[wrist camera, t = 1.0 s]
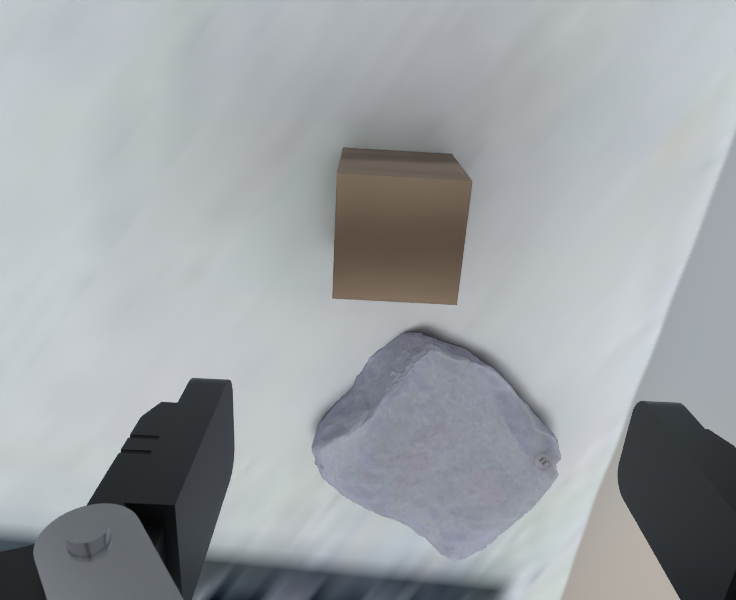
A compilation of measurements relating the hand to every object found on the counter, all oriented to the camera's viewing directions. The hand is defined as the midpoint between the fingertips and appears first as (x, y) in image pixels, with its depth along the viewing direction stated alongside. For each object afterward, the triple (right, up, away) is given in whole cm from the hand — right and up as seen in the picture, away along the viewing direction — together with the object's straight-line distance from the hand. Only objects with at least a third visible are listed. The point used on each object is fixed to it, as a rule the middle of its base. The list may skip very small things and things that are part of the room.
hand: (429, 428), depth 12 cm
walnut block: (0, +7, +17) cm, 18 cm away
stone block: (+3, -4, +22) cm, 23 cm away
